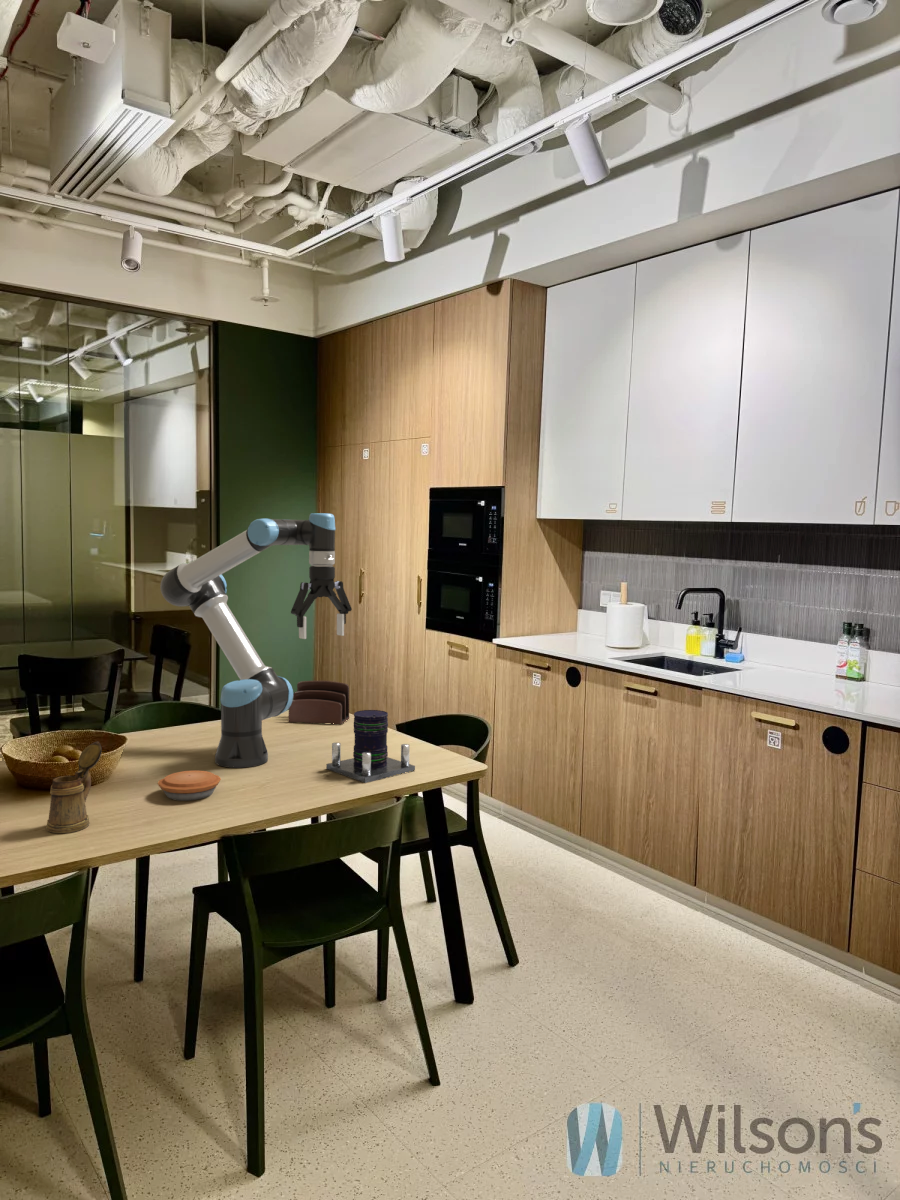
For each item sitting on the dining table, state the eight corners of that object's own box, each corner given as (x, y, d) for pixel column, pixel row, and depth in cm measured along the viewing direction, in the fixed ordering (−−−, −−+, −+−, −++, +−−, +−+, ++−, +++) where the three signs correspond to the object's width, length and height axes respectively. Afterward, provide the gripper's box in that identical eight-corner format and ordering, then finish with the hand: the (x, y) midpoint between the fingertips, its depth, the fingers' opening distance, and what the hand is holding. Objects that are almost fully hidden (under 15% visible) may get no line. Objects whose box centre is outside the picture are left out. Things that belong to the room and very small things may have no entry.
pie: (233, 790, 223) (233, 771, 223) (193, 807, 209) (193, 787, 209) (186, 782, 229) (186, 764, 229) (144, 798, 215) (144, 779, 215)
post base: (365, 782, 231) (365, 755, 230) (326, 769, 244) (326, 743, 243) (414, 770, 243) (415, 745, 243) (375, 758, 256) (375, 733, 256)
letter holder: (297, 716, 313) (297, 679, 312) (349, 719, 310) (349, 681, 308) (288, 722, 303) (288, 683, 302) (341, 725, 300) (341, 686, 299)
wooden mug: (113, 818, 200) (112, 743, 198) (64, 836, 188) (62, 756, 186) (87, 812, 204) (86, 738, 202) (37, 829, 192) (35, 751, 190)
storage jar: (348, 762, 246) (349, 711, 245) (380, 758, 250) (381, 708, 249) (359, 770, 237) (360, 718, 236) (392, 767, 241) (393, 715, 240)
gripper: (293, 566, 240) (293, 641, 242) (363, 565, 257) (362, 635, 259) (278, 565, 246) (278, 638, 247) (348, 564, 263) (347, 632, 264)
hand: (321, 636), depth 253 cm, fingers open, 13 cm apart
